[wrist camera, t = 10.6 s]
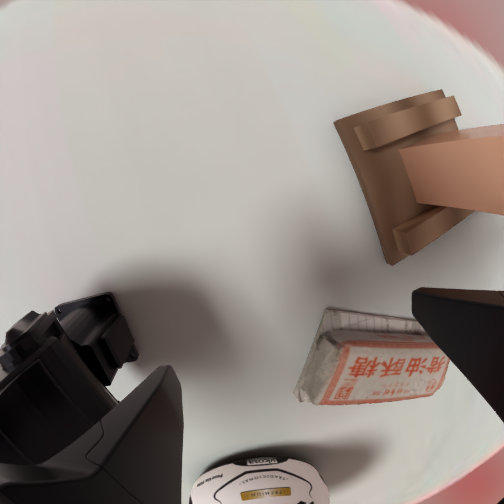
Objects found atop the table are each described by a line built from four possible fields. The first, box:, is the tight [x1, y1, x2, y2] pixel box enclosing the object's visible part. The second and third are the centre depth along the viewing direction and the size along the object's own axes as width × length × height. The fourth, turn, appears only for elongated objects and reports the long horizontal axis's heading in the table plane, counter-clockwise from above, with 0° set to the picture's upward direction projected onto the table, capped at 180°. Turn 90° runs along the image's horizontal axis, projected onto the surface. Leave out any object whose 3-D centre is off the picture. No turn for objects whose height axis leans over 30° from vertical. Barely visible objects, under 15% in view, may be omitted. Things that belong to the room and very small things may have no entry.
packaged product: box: [294, 309, 450, 405], centre depth 24 cm, size 18×5×10 cm
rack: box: [333, 89, 475, 266], centre depth 20 cm, size 14×13×3 cm
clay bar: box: [399, 124, 504, 215], centre depth 14 cm, size 5×5×13 cm
